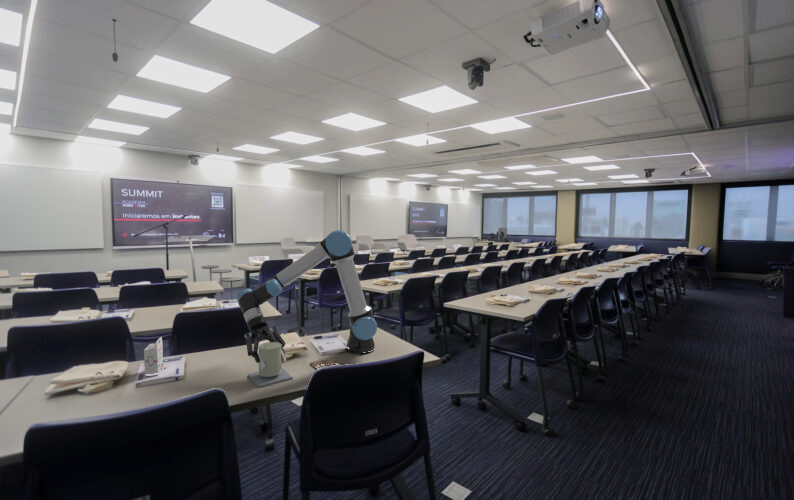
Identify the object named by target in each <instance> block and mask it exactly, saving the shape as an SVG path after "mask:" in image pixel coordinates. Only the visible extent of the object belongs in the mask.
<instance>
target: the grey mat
mask: <svg viewBox="0 0 794 500" xmlns="http://www.w3.org/2000/svg"><path fill="white" fill-rule="evenodd" d="M281 370H282V372H281V373H280V374H278V375H275V376H270V377H263V376H260V375H259V371H256V372H252V373H248V374H247V376H248V378H249V379H250V380H251V382H253V383H254V385H255V386H256V387H257V388H259V389H261V388H263V387H266V386H267V387H268V386H272V385H275V384H278V383H282V382H286V381H290V380H293V379H294V378H293V376H292V375H291V374H290V373H289V372H287V371H286V370H285V369H284V368H283V367H282V366H281Z"/></svg>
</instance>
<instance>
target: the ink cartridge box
mask: <svg viewBox="0 0 794 500" xmlns="http://www.w3.org/2000/svg"><path fill="white" fill-rule="evenodd" d="M163 347H164V346H163V338H162V336H160V337H159V338H158V339H157V340H156V341H155V343H149V344H148V345H147V346H146V347H145V348H144V349H143V355H144V357H143V358H144V359H143V361H144V375H145V374H154V373H159V371H160V370H161V369H162V367H163V368H164V354H163V353H164V352H163V351H164V350H163ZM162 370H163V369H162ZM162 370H161V371H162ZM159 374H160V373H159Z"/></svg>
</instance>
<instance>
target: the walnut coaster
mask: <svg viewBox="0 0 794 500" xmlns="http://www.w3.org/2000/svg"><path fill="white" fill-rule="evenodd" d="M337 362H338V361H336V360H334V359H333V358H331V357H329V358H326V359H322V360H321V359H320V360H316V361H313V362H310V363H309V365H310V364H311V365H313V366H314V367H315V366H316V367H317V365H319V366H320V367H323V366H321V364H325V365H324V366H330V365H336V364H335V363H337ZM332 363H333V364H332ZM326 364H327V365H326ZM328 364H329V365H328ZM311 365H310V366H311ZM313 366H312V367H313ZM314 367H313V368H314ZM320 367H318V368H320ZM316 370H317V368H316Z"/></svg>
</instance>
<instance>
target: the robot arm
mask: <svg viewBox="0 0 794 500" xmlns="http://www.w3.org/2000/svg"><path fill="white" fill-rule="evenodd" d="M354 257H355V250H354V247H353V240H352V237H351V235H349V234H348V232H346V231H345V230H341V229H336V230H333V231H331V232H330V233H328V235H327V236H326V237H325V238H324V239H322V240H321V241H320V242H318V245H317V246H316V247H314V248H313V249H311V250H310V251H309V252H307V253H306V254H304V255H303V256H301V257H299V258H298V259H296V260H295V261H294V262H292V263H291V264H290V265H288V266H287V267H284V269H282V270H281V271H279V272H278V273H276V274H275V275H273V276H271V277H270V278H269V279H267V280H266V281H265V282H264V283H263V284H261V285H260V286H258V287H256V288H254V289H251V288H245V289H242V290H240V291H239V292H238V293H237V294H236V300H237V304H238V306H239V308H240V310H241V313H242V315H243V319H244V320H245V322H246V326H247V328H248V331H249V332H245V334H244V336H243V337H244V339H245V342H246V343H245V344H246V351H247V356H248V357H252V358H254V360H255V362H256V363H258V367H259V366H260V368H261V370H263V369H264V368H265V367H266V366H265V364H264V362H263V359H262V357H261V354H260V353H259V345H260V340H263V339H264V340H265V341H268V342H278V343H281V345H282V346H281V365H283V364H285V363H286V361H287V358H286V356H285V354H286V352H285V350H284V347H285V346H286V341H285V340H284V339H283V337H282V336H281V335H280V333H279V332H278V331H277V330H278V329H277V327H276V326H273V327H269V326H268V323H267V321H266V319H265V316H264V313H263V312H262V309H261V305H263V304H264V303H266V302H268V301H270V300H271V299H273V298H275V297H277V296H278V295H280V294H281V293H282V292H283V289H285V287H287V286H289V285H290V284H291V283H293V282H294V281H296V280H297V279H299V278H300V277H301V276H303V275H305V274H306V273H307V272H310V270H312V269H313V268H315V267H316V266H317V265H319V264H320V263H322V262H324V261H325V260H326V259H330V261H331V263H333V264H335V267H336V270H337V274H338V277H339V281H340V283H341V286H342V289H343V291H344V292H343V293H344V295H345V300H346V303H347V305H348V309H349V312H348V314H347V316H348V320H349V336H348V339H347V343H346V344H347V347H349V348H350V349H349V350H348V351H347V352H348V353H350V354H354V353H363V352H368V351H371V350H373V349H374V348H375V349H376V345H375V342H374V339H373V338H374V336H375V335H376V333H377V330H378V323H377V321H376V319H375V317H374V314H373V313H374V312H373V308H372V306H371V305H368V304H367V301H366V298H365V295H364V291H363V288H362V285H361V281H360V279H359V278H360V277H359V275H358V272H357V268H356V266H355V262H354ZM252 337H253V338H254V340H253V342H254V344H253V342H252Z"/></svg>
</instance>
